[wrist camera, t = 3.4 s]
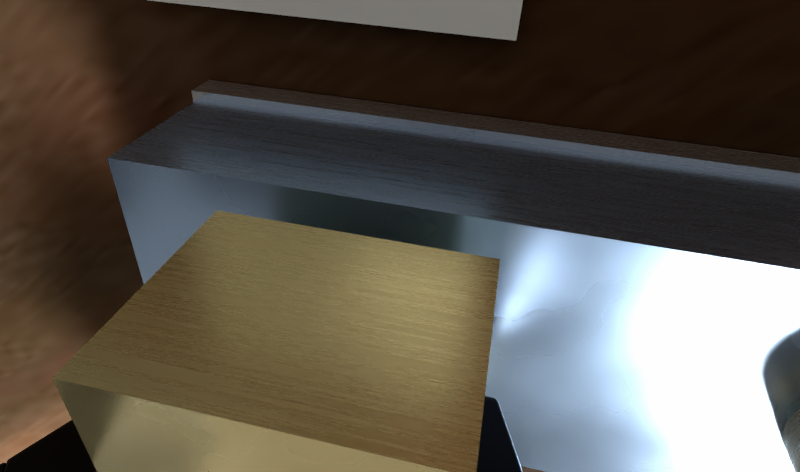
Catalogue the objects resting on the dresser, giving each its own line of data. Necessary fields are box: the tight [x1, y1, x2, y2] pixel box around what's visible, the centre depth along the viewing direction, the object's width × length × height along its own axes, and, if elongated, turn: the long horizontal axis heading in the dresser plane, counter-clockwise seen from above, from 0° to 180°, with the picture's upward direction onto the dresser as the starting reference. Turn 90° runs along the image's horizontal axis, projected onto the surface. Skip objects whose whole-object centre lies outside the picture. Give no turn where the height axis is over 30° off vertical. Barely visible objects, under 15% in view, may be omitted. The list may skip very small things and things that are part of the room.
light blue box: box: [107, 80, 800, 472], centre depth 11 cm, size 16×6×6 cm, turn 88°
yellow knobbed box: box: [53, 211, 500, 472], centre depth 8 cm, size 4×6×4 cm
